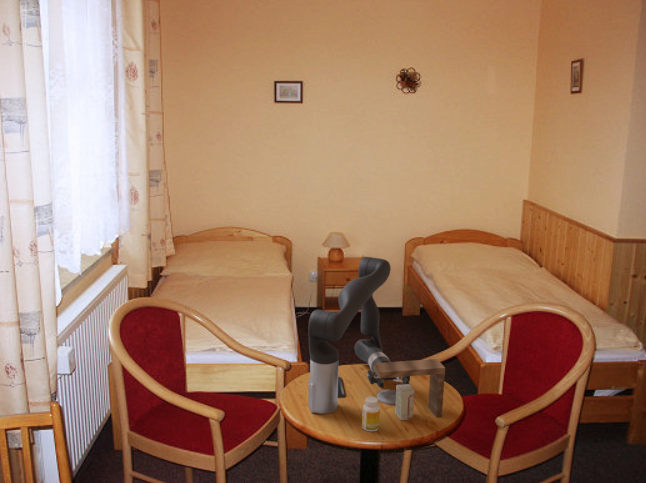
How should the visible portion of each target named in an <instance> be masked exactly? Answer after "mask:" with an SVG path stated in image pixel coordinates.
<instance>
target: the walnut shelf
mask: <svg viewBox="0 0 646 483" xmlns="http://www.w3.org/2000/svg"><path fill="white" fill-rule="evenodd" d="M373 369H374V371H375V372H376V374H377V375H378V377H379V378H392V377H396V378H397V377H401V378H402V377H406V376H410V377H414V376H415V377H417V376H429V388H428V389H429V390H428V402H427V403H428V404H427V405H428V406H427V407H428V409H429V410H430V411H431V413H432V414H433V415H434V416H435V418H441V417H443V406H444V392H445V391H444V389H445V376H446V367H445V366H444V365H443V364H442V362H440V361H439V360H438V358H431V359H417V360H415V359H414V360H402V361H401V360H400V361H391V362H385V363H374V368H373Z"/></svg>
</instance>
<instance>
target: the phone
mask: <svg viewBox="0 0 646 483" xmlns="http://www.w3.org/2000/svg"><path fill="white" fill-rule="evenodd" d="M345 396H346V392H345V387H344V383H343V379H342V377H341V376H338V398H345Z"/></svg>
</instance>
